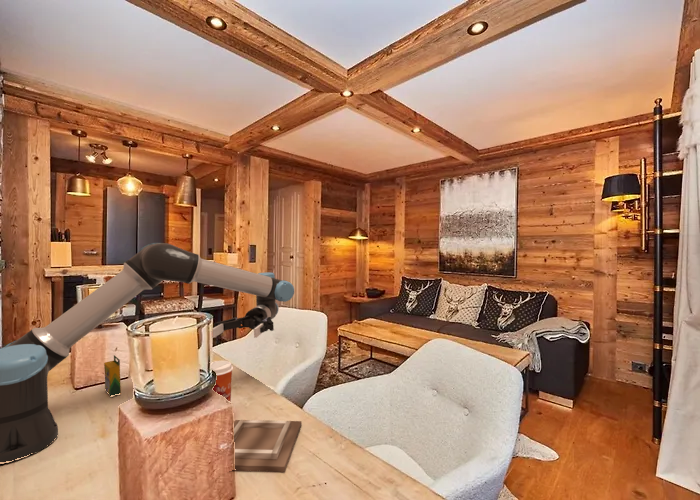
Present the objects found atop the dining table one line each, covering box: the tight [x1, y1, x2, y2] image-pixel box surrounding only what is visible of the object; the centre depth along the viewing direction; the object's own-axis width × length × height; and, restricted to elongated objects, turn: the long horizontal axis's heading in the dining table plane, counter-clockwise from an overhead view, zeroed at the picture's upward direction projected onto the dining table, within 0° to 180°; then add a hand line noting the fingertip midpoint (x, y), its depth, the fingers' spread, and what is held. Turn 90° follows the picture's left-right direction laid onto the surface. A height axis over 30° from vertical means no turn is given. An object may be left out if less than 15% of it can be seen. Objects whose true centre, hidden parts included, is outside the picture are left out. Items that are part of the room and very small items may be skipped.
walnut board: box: [233, 419, 302, 473], centre depth 80 cm, size 18×18×2 cm
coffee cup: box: [211, 360, 234, 402], centre depth 93 cm, size 8×8×15 cm
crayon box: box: [103, 354, 122, 397], centre depth 109 cm, size 7×3×12 cm, turn 48°
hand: (233, 333), depth 103 cm, fingers open, 13 cm apart
